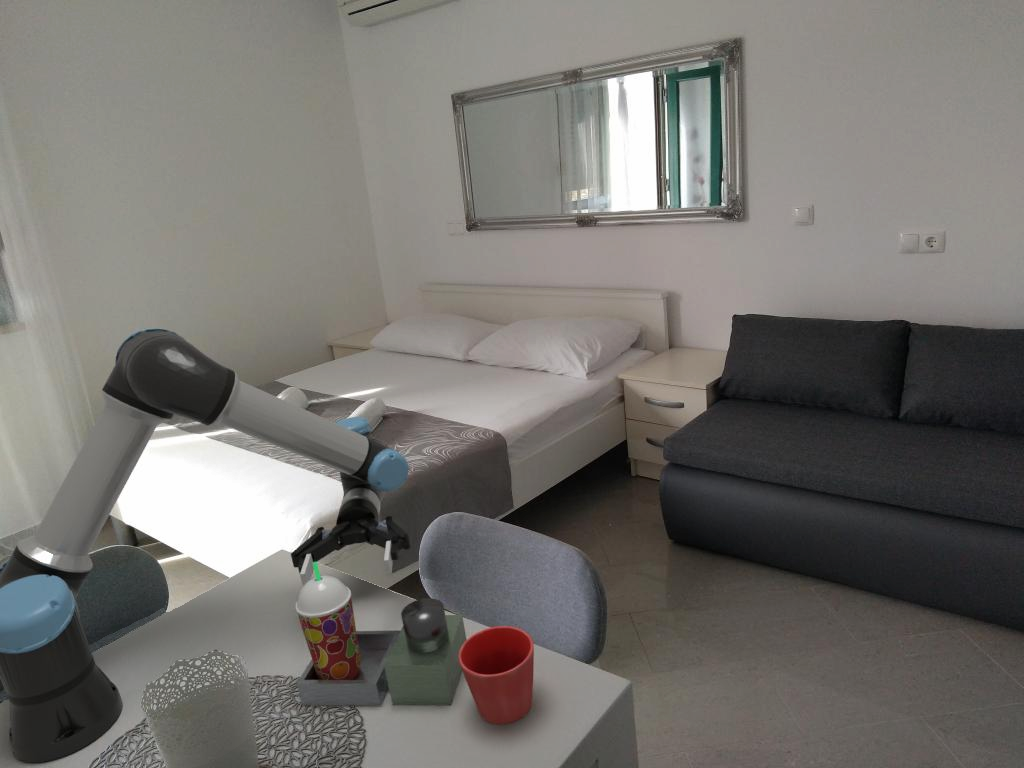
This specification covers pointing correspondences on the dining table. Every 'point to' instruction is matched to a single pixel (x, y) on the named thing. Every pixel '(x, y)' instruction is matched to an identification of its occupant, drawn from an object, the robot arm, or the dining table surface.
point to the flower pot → (499, 672)
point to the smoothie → (329, 627)
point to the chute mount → (398, 663)
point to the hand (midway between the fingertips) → (345, 574)
